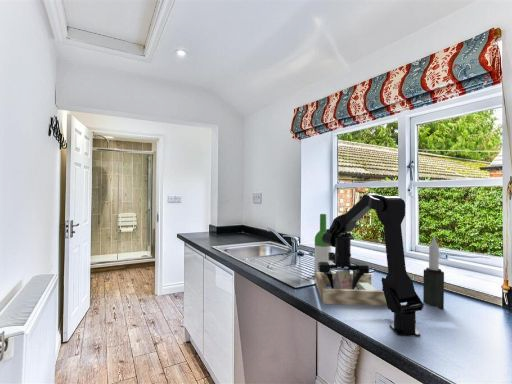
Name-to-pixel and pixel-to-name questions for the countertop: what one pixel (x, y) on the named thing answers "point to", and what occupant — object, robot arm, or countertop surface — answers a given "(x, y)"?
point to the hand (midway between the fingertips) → (342, 289)
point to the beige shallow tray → (348, 292)
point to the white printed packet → (342, 280)
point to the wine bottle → (321, 245)
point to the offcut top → (365, 286)
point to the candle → (433, 279)
